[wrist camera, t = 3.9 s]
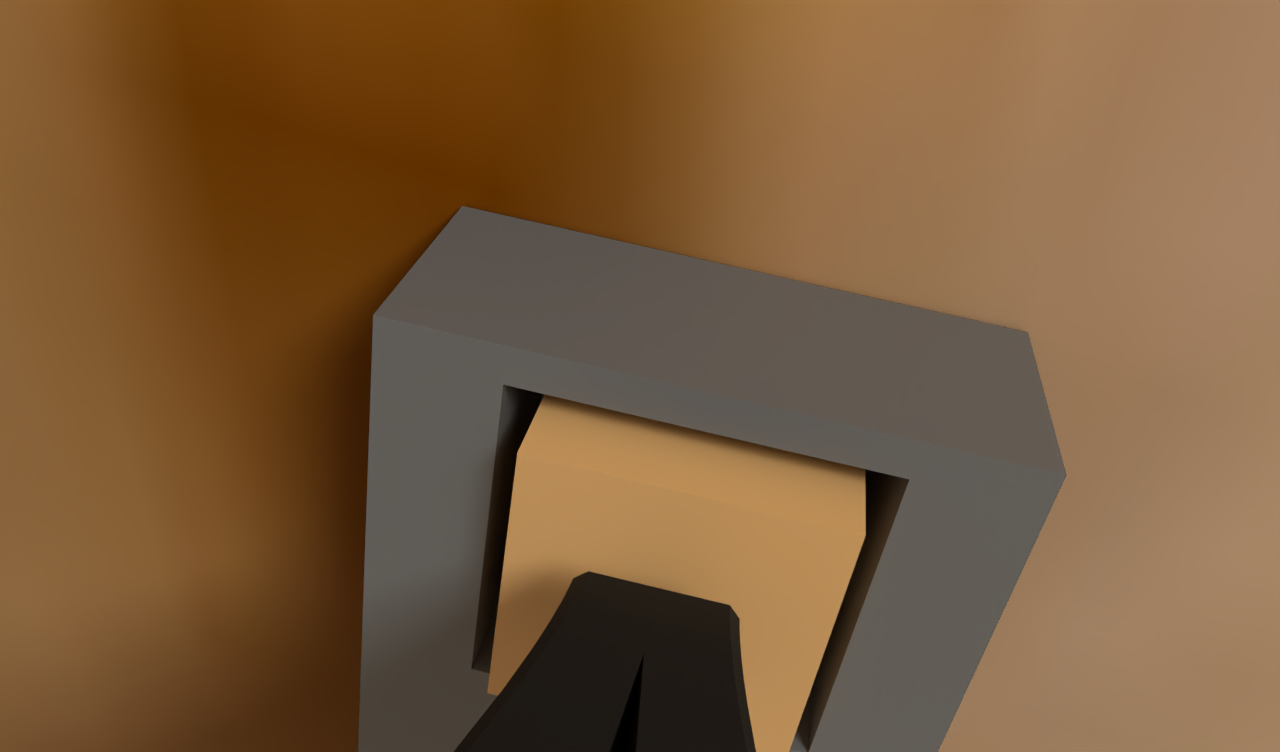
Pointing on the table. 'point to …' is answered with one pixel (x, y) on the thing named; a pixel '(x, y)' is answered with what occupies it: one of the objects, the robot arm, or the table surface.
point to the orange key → (683, 540)
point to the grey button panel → (707, 401)
